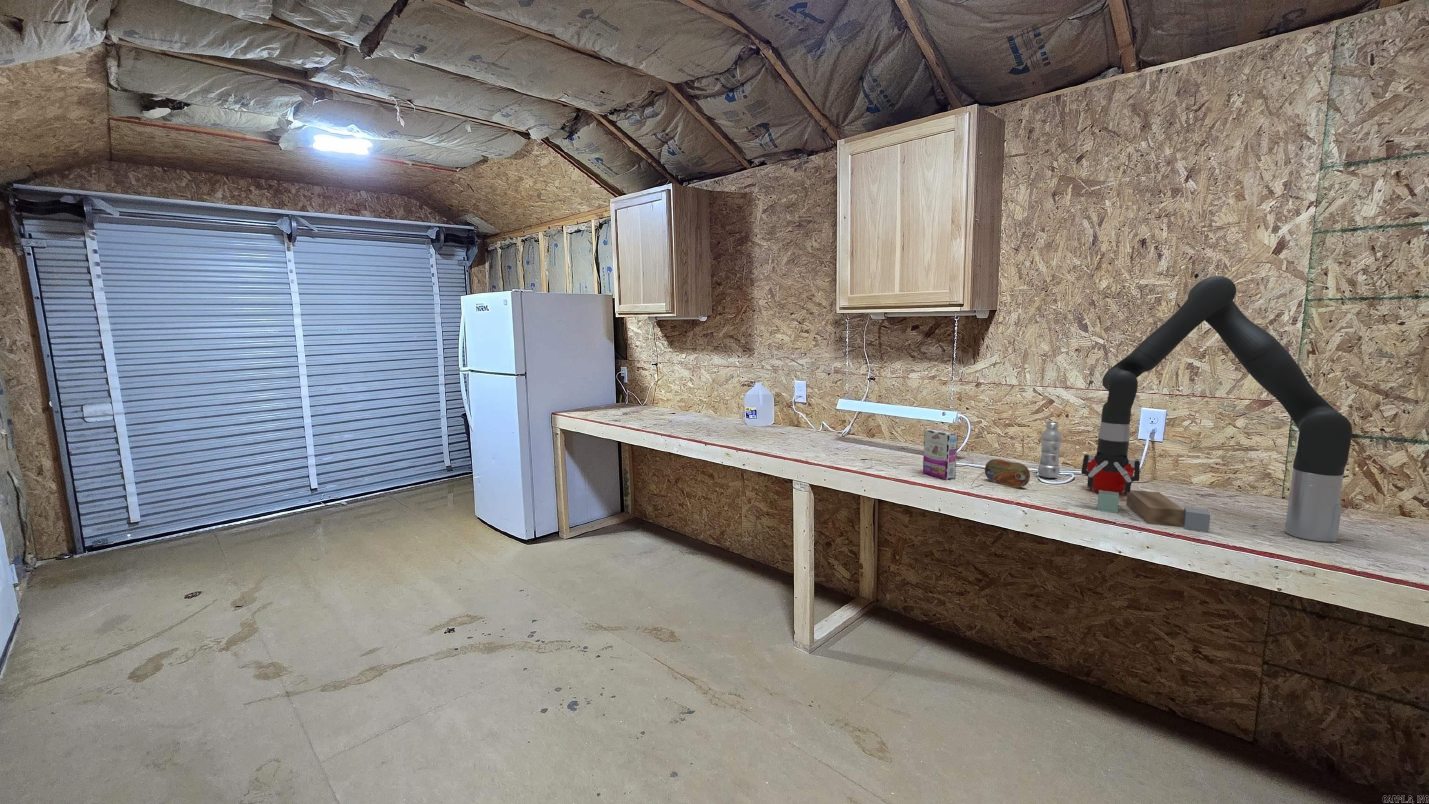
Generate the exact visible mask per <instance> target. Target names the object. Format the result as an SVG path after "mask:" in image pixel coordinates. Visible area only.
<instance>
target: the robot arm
mask: <svg viewBox="0 0 1429 804" xmlns="http://www.w3.org/2000/svg"><path fill="white" fill-rule="evenodd" d="M1236 294H1237V286H1236V284H1235V283H1234V281H1233V280H1232V279H1230V278H1229V277H1226V276H1223V275H1214V276H1208V277H1206V278H1204V279H1202V280H1200V281H1198V283H1196V284H1195V285H1193V286H1192V287H1191V289H1190V290H1189V291H1188V293H1187V299H1186V301H1185V302H1184V303H1183V304H1182V305H1181V306H1180V308H1179V309H1177V311H1176V312H1175V313H1174V314H1172V315H1171V316H1170V317H1169V318H1168V319H1167V320H1166V321H1165V322H1164V323H1162V324H1161V325H1160V326H1159V327H1158V328H1156V329H1155V330H1154V331H1152V332H1151V334H1149V335H1148V336H1147V337H1146V338H1145V339H1143V341H1142V342H1140V343H1139V344H1138V345H1137V346H1136V348H1134V349H1133V350H1132V351H1131V352H1130V353H1129V354H1128V355H1126V356H1125V357H1124V358H1122V359H1121V360H1120V361H1119V362H1117V363H1115V364H1114V365H1113V366H1111V367H1110V368H1109V369H1108V370H1107V371H1106V373H1104V375H1103V377H1102V381H1101V382H1102V386H1103V388H1104V389H1105V391H1108V394H1107V400H1106V402H1105V403H1104V404H1103V405H1102V409H1101V410H1102V411H1101V417H1100V425H1099V429H1098V433H1097V434H1098V435H1097V436H1098V437H1097V438H1098V439H1097V446H1096V454H1095V455H1093V454H1089V453H1085V454H1084V456H1083V460H1082V466H1081V472H1080V473H1081V474H1082V475H1084V476H1087V484H1086V486H1087V488H1089V490H1091V491H1092V490H1093V489H1094V487H1093V479H1094V475H1095V474H1096V473H1098V472H1099V471H1100V470H1103V471H1106V472H1109V471H1110V472H1113V473H1116V472H1120V473H1121V475H1122V476H1123V477H1124V478H1125V480H1126V481H1125V488H1124V491H1123V494H1124V495H1126V496H1127V493H1129V492H1130V490H1132V488H1131V487H1132V484H1133V482H1139V481H1140V472H1141V471H1140V470H1141V468H1140V467H1141V466H1140V465H1141V462H1140V459H1138V458H1136V459H1129V457H1128V454H1129V453H1128V452H1129V444H1130V438H1131V435H1130V434H1131V428H1130V427H1131V415H1132V407H1133V405H1134V402H1135V399H1136V396H1137V393H1138V387H1139V385H1138V384H1139V383H1138V378H1139V377H1140V376H1141V375H1142V374H1144V373H1146V372H1147V373H1148V372H1150V371H1152V370H1153V369H1155V367H1157V366H1158V365H1159V364H1160V363H1162V361H1163V360H1164V359H1165V358H1166V357H1168V356H1169V355H1170V354H1171V352H1172V351H1173V350H1175V349H1176V348H1177V346H1178V345H1179V344H1180V343H1181V342H1183V340H1185V338H1187V336H1188V335H1189V334H1191V332H1193V331H1194V330H1195V329H1196V328H1197V327H1198V326H1200V325H1201V324H1202V323H1203V322H1204V321H1205V322H1206V323H1207V324H1208V325H1209V326H1210V327H1211V328H1212V329H1213V330H1214V331H1215V332H1216V333H1217V334H1218V336H1219V337H1220V338H1221V340H1222V341H1223V342H1224V344H1225V346H1226V347H1227V348H1228V349H1229V350H1230V352H1231V353H1232V354H1233V356H1234V357H1235V358H1236V359H1237V360H1238V362H1239V363H1240V364H1241V366H1242V367H1243V368H1244V369H1245V370H1246V372H1247V373H1249V375H1250V376H1251V378H1252V379H1254V381H1255V382H1257V383H1258V384H1259V385H1260V386H1261V387H1262V388H1263V389H1264V390H1266V391H1267V392H1268V394H1270V395H1271V396H1273V397H1274V398H1275V399H1276V401H1278V402H1279V403H1280V404H1281V406H1282V407H1283V408H1284V409H1285V411H1286V412H1287V413H1288V415H1289V416H1290V418H1291V420H1292V421H1293V423H1294V424H1295V426H1296V428H1297V429H1298V432H1299V433H1298V438H1297V439H1298V440H1297V445H1296V446H1297V448H1296V452H1295V456H1294V459H1293V465H1292V467H1293V468H1292V475H1291V480H1290V481H1291V482H1290V488H1289V489H1290V490H1289V496H1288V503H1287V510H1286V518H1285V522H1284V532H1285V533H1286V534H1288V535H1290V536H1292V537H1293V536H1294V537H1296V538H1299V539H1304V540H1307V541H1308V540H1309V541H1316V542H1327V543H1328V542H1330V543H1331V542H1333V543H1338V542H1337V541H1338V536H1339V531H1340V522H1341V515H1342V510H1343V506H1342V504H1341V494H1342V487H1343V481H1344V475H1345V469H1346V465H1347V464H1348V461H1349V456H1350V455H1349V454H1350V449H1351V444H1352V443H1351V442H1352V436H1353V426H1352V423H1351V422H1350V420H1349V418H1347V417H1346V416H1345V415H1344V414H1342V412H1340V411H1338V410H1337V409H1335V408H1334V407H1333V406H1332V405H1331V404H1330V403H1329V402H1327V401H1326V400H1325V398H1324V397H1322V396H1321V395H1320V394H1319V393H1318V392H1317V391H1316V390H1315V388H1314V387H1313V386H1312V385H1311V383H1310V382H1309V380H1308V378H1307V376H1306V375H1305V373H1304V372H1303V370H1302V369H1301V367H1300V366H1299V365H1298V363H1297V361H1296V360H1295V358H1294V357H1293V356H1292V355H1291V354H1290V353H1289V351H1288V350H1287V348H1285V347H1284V346H1283V345H1282V344H1281V342H1280V341H1279V340H1278V339H1277V338H1276V337H1274V336H1273V335H1272V334H1270V333H1269V332H1268V331H1266V330H1265V329H1263V328H1262V327H1261V326H1259V325H1258V324H1256V323H1254V322H1253V321H1252V320H1251V319H1249V318H1248V317H1247V316H1246V315H1245V314H1244V313H1243V312H1242V311H1241V310H1240V309H1239V307H1238V306H1237V304H1236V303H1235V301H1234V299H1235V298H1236ZM1092 459H1094V460H1095V461H1096V463H1097V464H1098V465H1096V466H1095V467H1094V468H1093V469H1092V470H1091V471H1088V470H1087V465H1088V462H1091V460H1092ZM1128 463H1129V464H1131V466H1132V467H1133V468H1134V473H1133V476H1131V477H1130V476H1129V474H1128V473H1127V471H1126V470H1125V469H1124V467H1125V466H1126V465H1128ZM1131 483H1132V484H1131Z"/></svg>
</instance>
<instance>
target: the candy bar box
mask: <svg viewBox="0 0 1429 804" xmlns="http://www.w3.org/2000/svg"><path fill="white" fill-rule="evenodd" d="M958 435H959V434H958V432H952V431H947V430H941V429H937V428H928V429H924V439H923V441H924V442H923V459H922V460H923V461H922V474H924V475H927V476H930V477H936V478H938V479H942V480H946V481H949V480H955V479H956V477H957V476H956V475H957V474H956V473H957V471H956V470H957V458H958V457H957V454H958V439H959V438H958Z"/></svg>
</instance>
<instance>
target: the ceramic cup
mask: <svg viewBox="0 0 1429 804" xmlns="http://www.w3.org/2000/svg"><path fill="white" fill-rule="evenodd" d="M1096 465H1098V464H1097V463H1096V461H1095V460H1094V459H1092V460H1091V462H1088V465H1087V470H1088V471H1091V470H1092V469H1093V468H1094V467H1095V466H1096ZM1124 469H1125V470H1126V471H1127V473H1128V474H1129V476H1130V477H1131V476H1134V468H1133V467H1132V466H1131V464H1129V463H1128V465H1126V466H1125V467H1124ZM1125 481H1126V480H1125V478H1124V477H1123V476H1122V475H1121V473H1120V472H1116V473H1113V472H1110V471H1109V472H1106V471H1103V470H1100V471H1099V472H1098V473H1096V474H1095V475H1094V479H1093V489H1094V490H1095V491H1096V492H1097V493H1099V490H1102V491H1109V492H1117V493H1119V495H1120V494H1121V493H1123V492H1124V488H1125ZM1132 484H1133V482H1132V483H1131V485H1132Z"/></svg>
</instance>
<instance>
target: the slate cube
mask: <svg viewBox="0 0 1429 804" xmlns="http://www.w3.org/2000/svg"><path fill="white" fill-rule="evenodd" d="M1183 510H1184V518H1183V528H1184V530H1188V531H1193V532H1200V533H1201V532H1202V533H1209V531H1210V530H1209V529H1210V521H1211V513H1210V511H1209V509H1204V508H1197V507H1196V508H1195V507H1191V506H1184V508H1183Z"/></svg>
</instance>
